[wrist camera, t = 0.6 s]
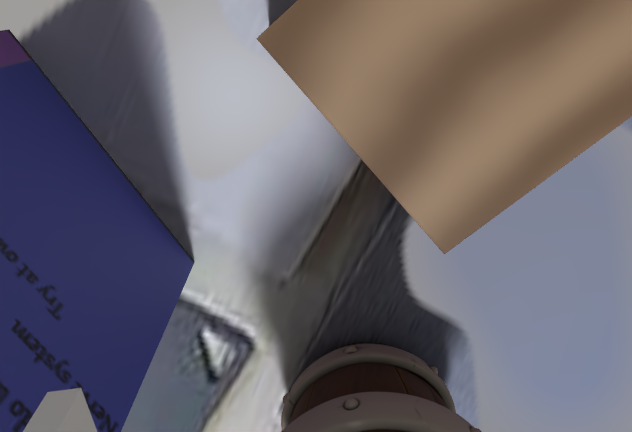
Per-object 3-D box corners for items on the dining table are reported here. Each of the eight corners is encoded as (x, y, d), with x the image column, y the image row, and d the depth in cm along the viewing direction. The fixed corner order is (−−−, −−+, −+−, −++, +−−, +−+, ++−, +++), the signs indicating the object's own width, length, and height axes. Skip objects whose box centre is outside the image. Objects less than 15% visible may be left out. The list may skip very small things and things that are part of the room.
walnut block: (269, 27, 33) (256, 38, 25) (469, -161, 30) (522, -211, 22) (417, 200, 37) (444, 254, 29) (609, 51, 33) (694, 70, 26)
